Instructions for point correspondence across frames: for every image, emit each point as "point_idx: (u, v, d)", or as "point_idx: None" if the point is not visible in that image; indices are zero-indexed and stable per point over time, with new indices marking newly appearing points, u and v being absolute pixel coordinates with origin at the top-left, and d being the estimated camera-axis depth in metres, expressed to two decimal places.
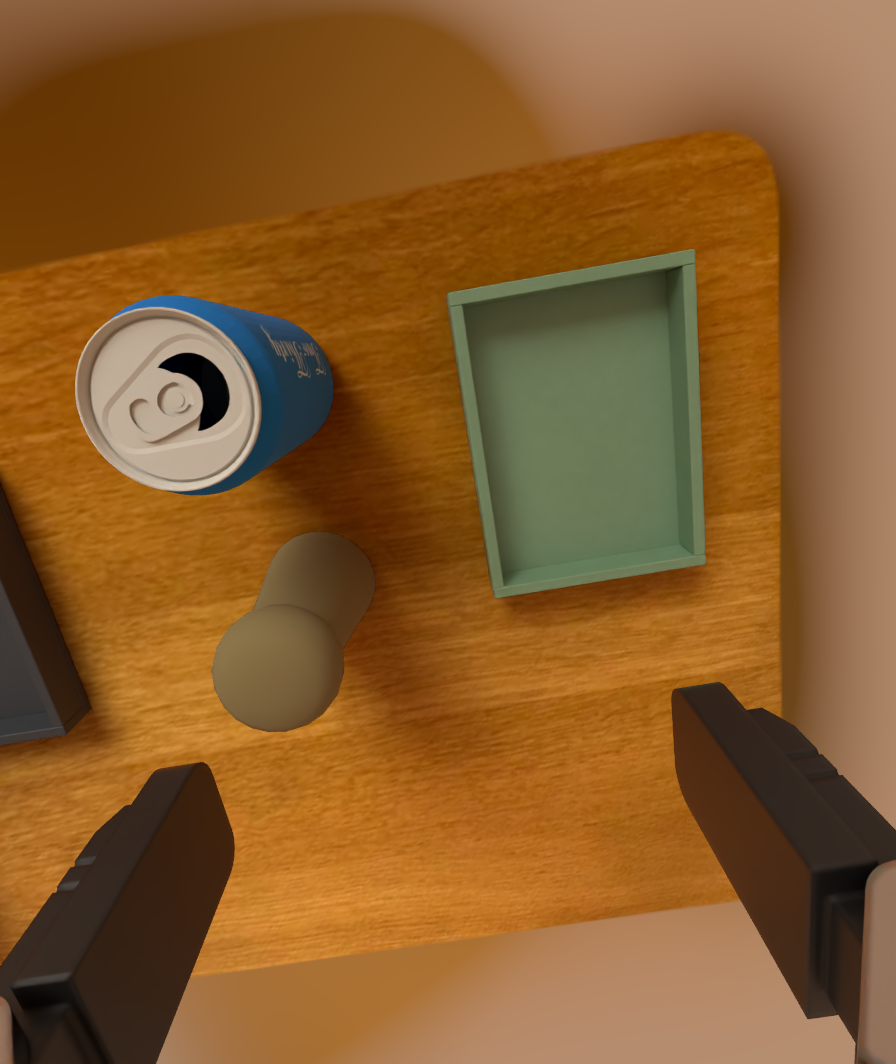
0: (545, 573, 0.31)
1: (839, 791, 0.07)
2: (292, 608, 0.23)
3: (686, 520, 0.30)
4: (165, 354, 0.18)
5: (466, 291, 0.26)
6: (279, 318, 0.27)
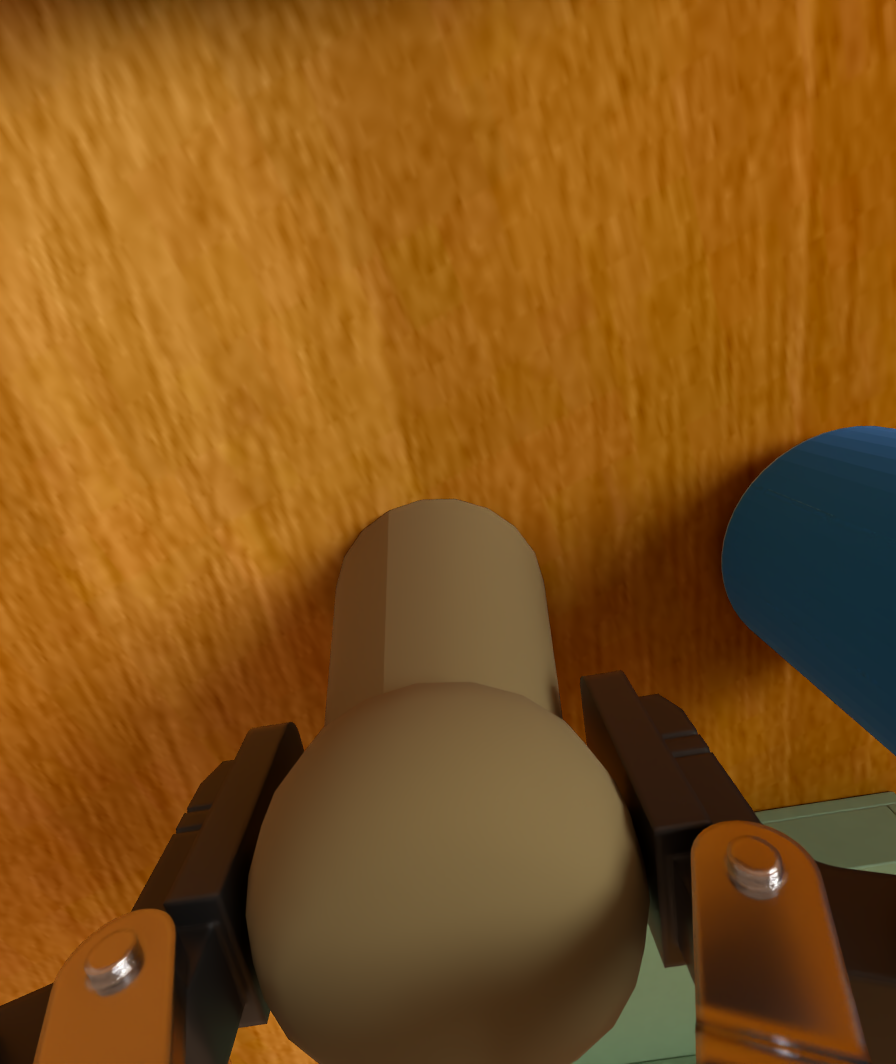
0: None
1: (705, 766, 0.08)
2: None
3: None
4: None
5: None
6: None
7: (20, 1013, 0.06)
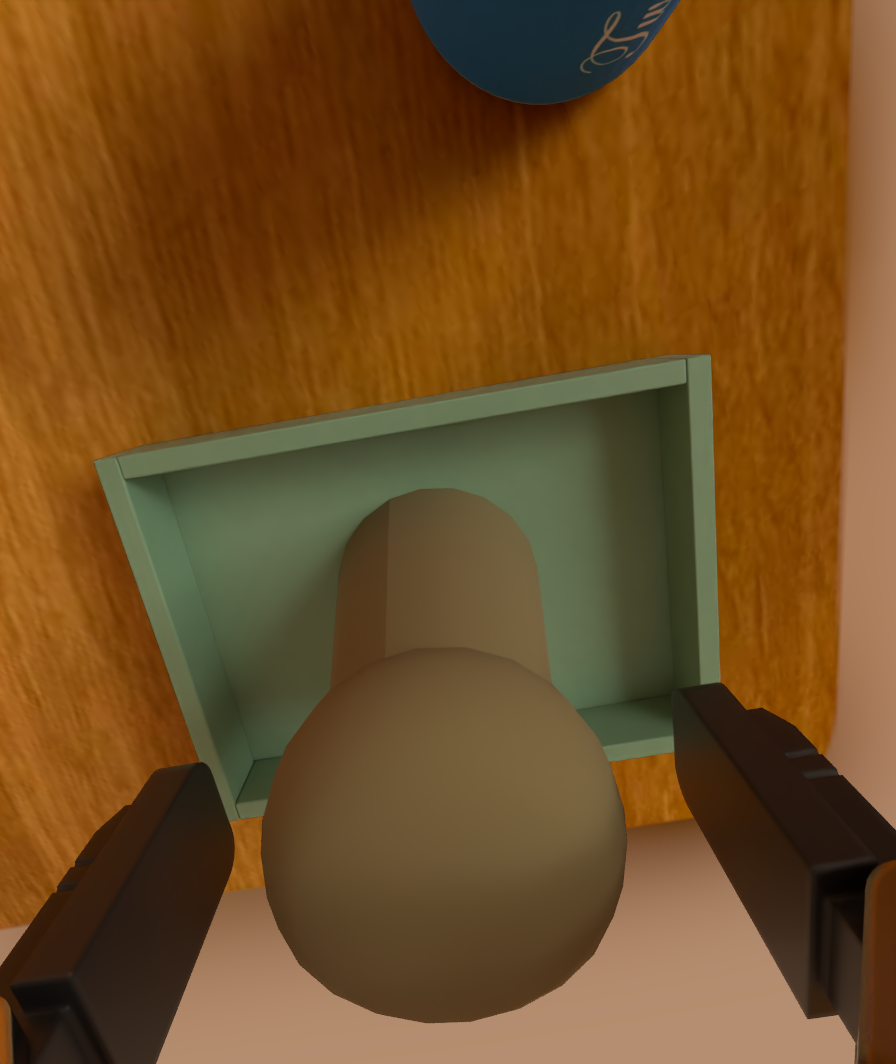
0: (168, 556, 0.16)
1: (839, 791, 0.07)
2: None
3: None
4: None
5: (709, 391, 0.14)
6: None
7: None
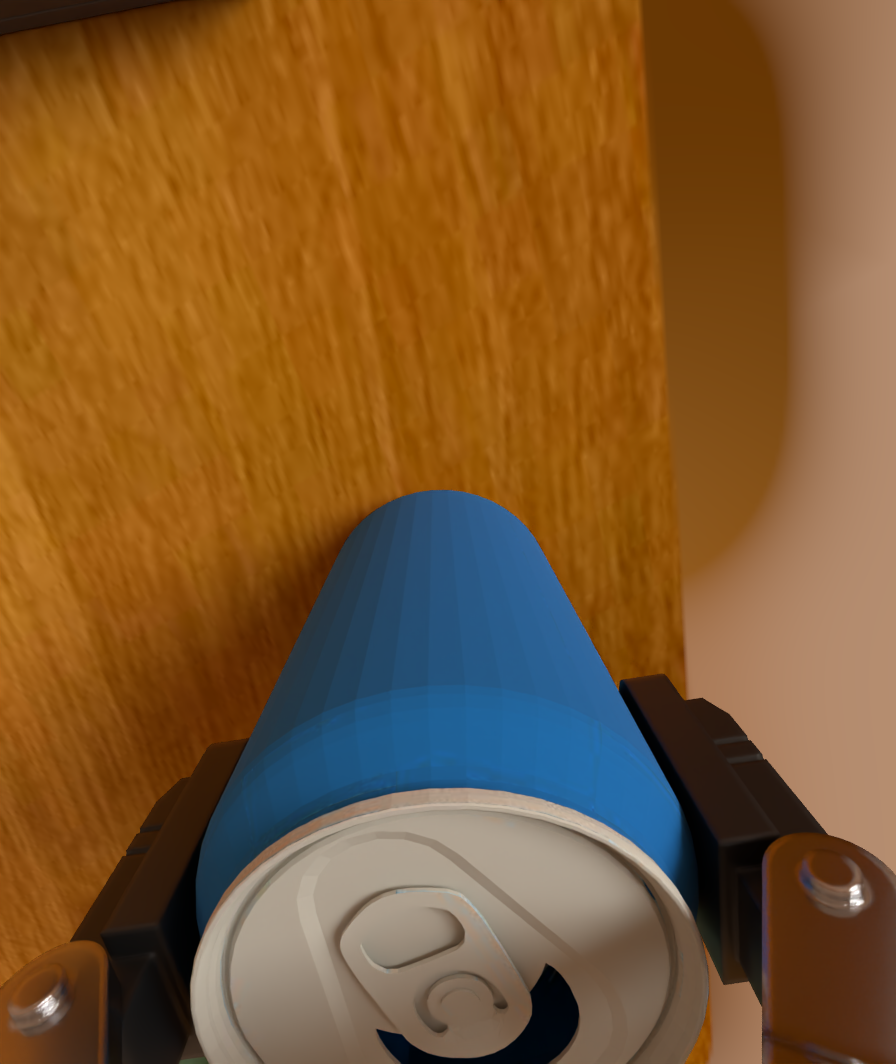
0: None
1: (760, 773, 0.08)
2: None
3: None
4: (577, 983, 0.07)
5: None
6: None
7: None
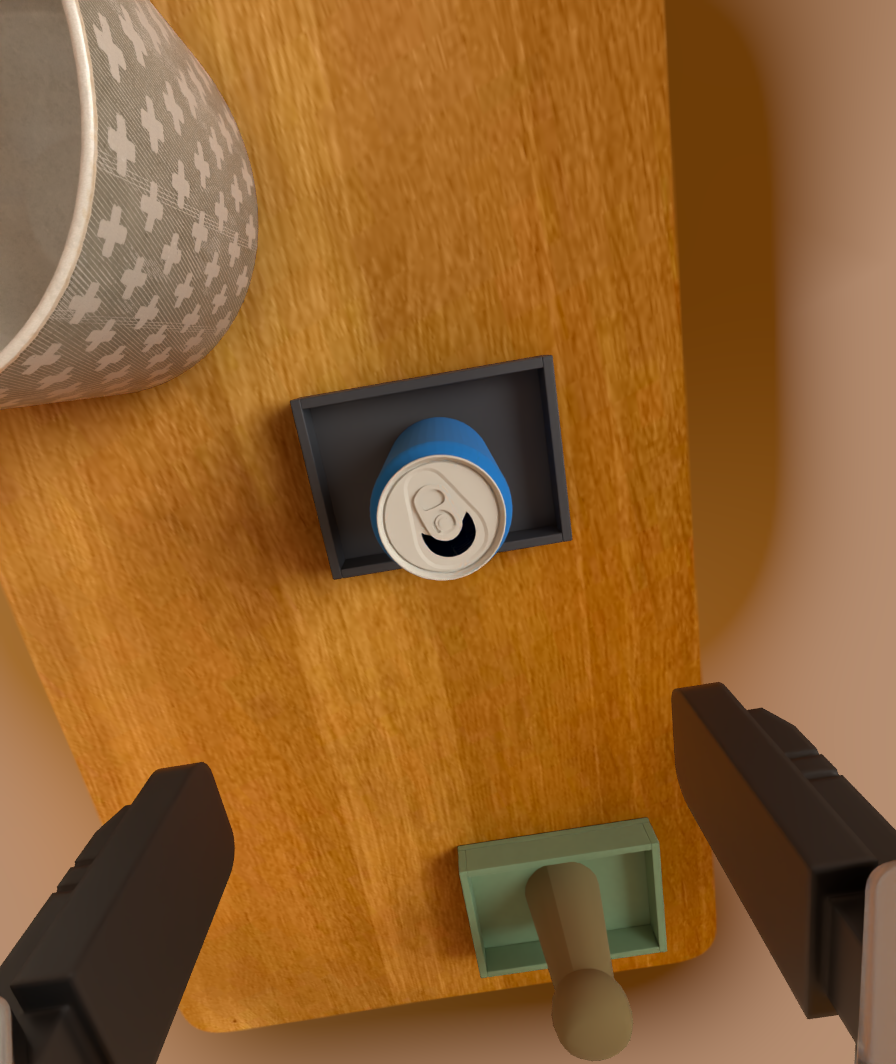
0: (471, 890, 0.45)
1: (839, 791, 0.07)
2: None
3: (506, 958, 0.47)
4: (474, 518, 0.25)
5: (658, 852, 0.43)
6: None
7: None
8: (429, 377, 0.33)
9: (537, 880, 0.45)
